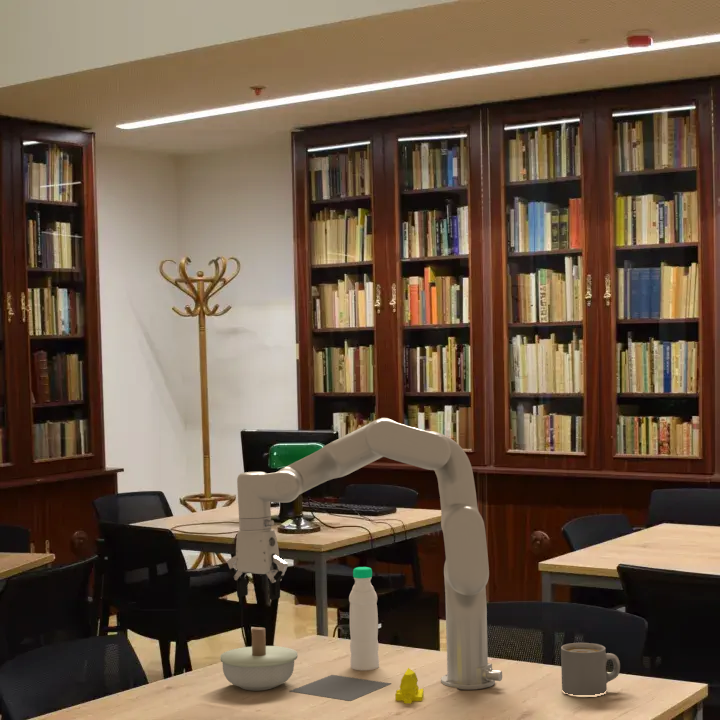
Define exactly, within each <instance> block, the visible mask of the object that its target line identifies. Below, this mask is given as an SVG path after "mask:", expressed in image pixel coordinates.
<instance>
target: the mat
mask: <svg viewBox="0 0 720 720" xmlns="http://www.w3.org/2000/svg"><path fill="white" fill-rule="evenodd" d="M390 685H392V683H390V682H384V681H377V680H371V679H363V678H357V677H351V676H343V675H337V674H331V675H328V676H325V677H323V678H320V679H316V680H314V681H313V682H309V683H308V684H305V685H302V686H299V687H296V688H293V689H291V690H289V693H291V692H292V693H296V694H297V693H298V694H302V695H304V694H305V695H308V696H309V695H311V696H316V697H321V698H323V697H324V698H329V699H334V700H342V701H347V702H351V701H354V700H356V699H359V698H362V697H364V696H366V695H368V694H371V693H373V692H376V691H378V690H380V689H383V688H385V687H387V686H390Z"/></svg>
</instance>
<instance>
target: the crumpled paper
mask: <svg viewBox="0 0 720 720" xmlns="http://www.w3.org/2000/svg"><path fill="white" fill-rule="evenodd" d="M418 681H419V680H418V677H417V675H416V671H414V670H412V669H411V668H409V667H408V668H407V669H406V671H405V672H404V674H403V675H402V678H401V679H400V685H399V688H400V689H397V690H396V691H395V695H394V697H395V699H394V700H395V701H397V702H399V701H400V702H401V701H402V702H403V704H409V705H410V704H412V702H422V701H423V700H424V697H425V696H424V695H425V694H424V693H425V692H424V691H425V690H424V688H420V687H419V685H418Z"/></svg>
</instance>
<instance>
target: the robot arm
mask: <svg viewBox="0 0 720 720" xmlns="http://www.w3.org/2000/svg"><path fill="white" fill-rule="evenodd" d="M382 458H387V459H390V460H394V461H396V462H399V463H403V464H406V465H410V466H414V467H417V468H421V469H424V470H428V471H429V470H430V471H434V472H435V475H436V478H437V483H438V493H439V497H440V498H439V502H440V511H441V512H440V513H441V515H440V516H441V517H440V518H441V519H440V525H441V530H442V533H443V542H444V552H445V553H444V555H445V561H444V565H443V576H444V592H445V595H444V596H445V627H446V628H445V630H446V635H445V636H446V671H447V674H445V675H442V676H441V678H440V684H442V685H445V686H447V687H449V688H456V689H457V690H464V691H465V690H471V691H472V690H482V689H487V688H490V687H492V686H494V685H495V684H496V682H502V680H503V671H502V670H495V669H493V664H492V663H489V659H488V656H489V655H488V620H487V617H488V616H487V615H488V614H487V613H488V611H487V610H488V609H487V590H486V588H487V587H486V586H487V584H488V581H489V577H490V570H489V569H490V567H489V557H488V554H489V553H488V547H487V536H486V534H487V533H486V528H485V527H486V526H485V521H484V519H483V517H482V515H481V513H480V511H479V506H478V499H477V492H476V484H475V478H474V473H473V468H472V467H473V466H472V464H471V462H470V459H469V457H468V455H467V453H466V452H465V451H464V448H462V447H461V445H460V444H459V443H457V442H456V440H453V438H451V437H449V436H447V435H445V434H443V433H441V432H438V431H433V430H428V431H427V430H424V429H420V428H417V427H414V426H409V425H407V424H403V423H400V422H397V421H395V420H393V419H390V418H388V417H381V418H380V417H379V418H377V419H375V420H373V421H371V422H369V423H366V424H365V425H363V426H361V427H359V428H357V429H355V430H353V431H351V432H349V433H346V435H344V436H341V437H339V438H338V439H335V440H333V441H331V442H330V443H328V444H326V445H324V446H323V447H321V448H320V449H318V450H316V451H314V452H313V453H311V454H309V455H306V456H305V457H303V458H301V459H299V460H296V461H294V462H293V463H290V464H289V465H287V466H284V467H282V468H280V469H279V470H278V471H276V472H270V473H267V472H265V471H248V472H247V471H246V472H242V473H240V474H238V476H237V479H236V481H237V482H236V484H237V503H238V505H237V507H238V527H239V530H238V531H237V535H236V542H235V543H236V545H235V555H234V556H233V557H230V558H229V559H228V560H227V565H228V568H229V570H230V573H231V574H232V576H233V579H234V580H235V581H236V594H237V597H236V598H243V597H246V596H248V595H249V590H248V586H249V585H248V578H246V576H247V575H248V574H253V575H254V574H255V575H256V574H257V575H266V576H267V578H268V579H269V581H270V582H269V583H268V592H269V593H268V594H269V595H268V596H269V600H270V601H274V600H278V599H280V598H281V581H282V579H283V577H284V576H285V575H286V571H287V569H288V565H289V564H288V562H286V561H285V560H283V559H282V558H280V551H279V545H278V544H279V543H278V539H277V535H276V534H277V533H276V531H275V529H272V527H274V525H275V521H274V520H273V519H272V515H271V513H272V512H271V502H273V503H283V504H284V503H291V502H293V501H296V499H297V498H298V497H299V496H300V495H302V494H303V493H305V492H307V491H309V490H311V489H313V488H315V487H317V486H319V485H321V484H324V483H326V482H327V481H331V480H333V479H338V478H343V477H345V476H347V475H350V474H351V473H353V472H355V471H358V470H359V469H361V468H363V467H366V466H367V465H369V464H372V463H373V462H375V461H377V460H380V459H382Z"/></svg>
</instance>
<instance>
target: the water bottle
mask: <svg viewBox="0 0 720 720" xmlns="http://www.w3.org/2000/svg"><path fill="white" fill-rule="evenodd" d="M352 577H353V579H354V584H353V586H352V588H351V591H350V593H349V596H348V601H349V634H350V642H349V643H350V644H349V649H350V669H352V670H355V671H372V670H376V669H378V668H379V667H380V658H379V641H378V635H379V617H378V615H379V614H378V605H377V603H378V595H377V594H378V593H377V592H376V591H375V587H374V586H373V585H372V582H371V580H372V577H373V569H372V568H371V567H368V566H357V567H354V568H353V571H352Z"/></svg>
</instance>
